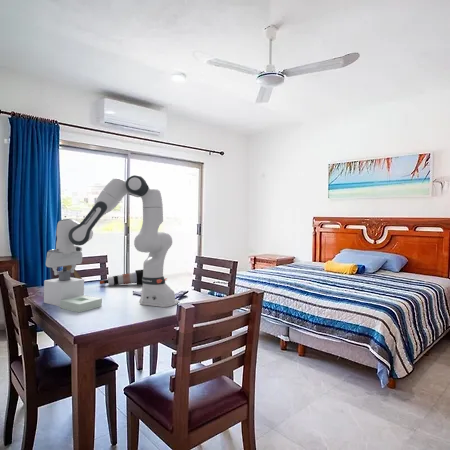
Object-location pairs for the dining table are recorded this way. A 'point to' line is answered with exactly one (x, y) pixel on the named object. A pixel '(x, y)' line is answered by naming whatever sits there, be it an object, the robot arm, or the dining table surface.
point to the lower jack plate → (80, 303)
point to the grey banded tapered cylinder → (125, 279)
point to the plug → (64, 274)
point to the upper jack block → (62, 290)
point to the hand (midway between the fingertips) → (64, 273)
